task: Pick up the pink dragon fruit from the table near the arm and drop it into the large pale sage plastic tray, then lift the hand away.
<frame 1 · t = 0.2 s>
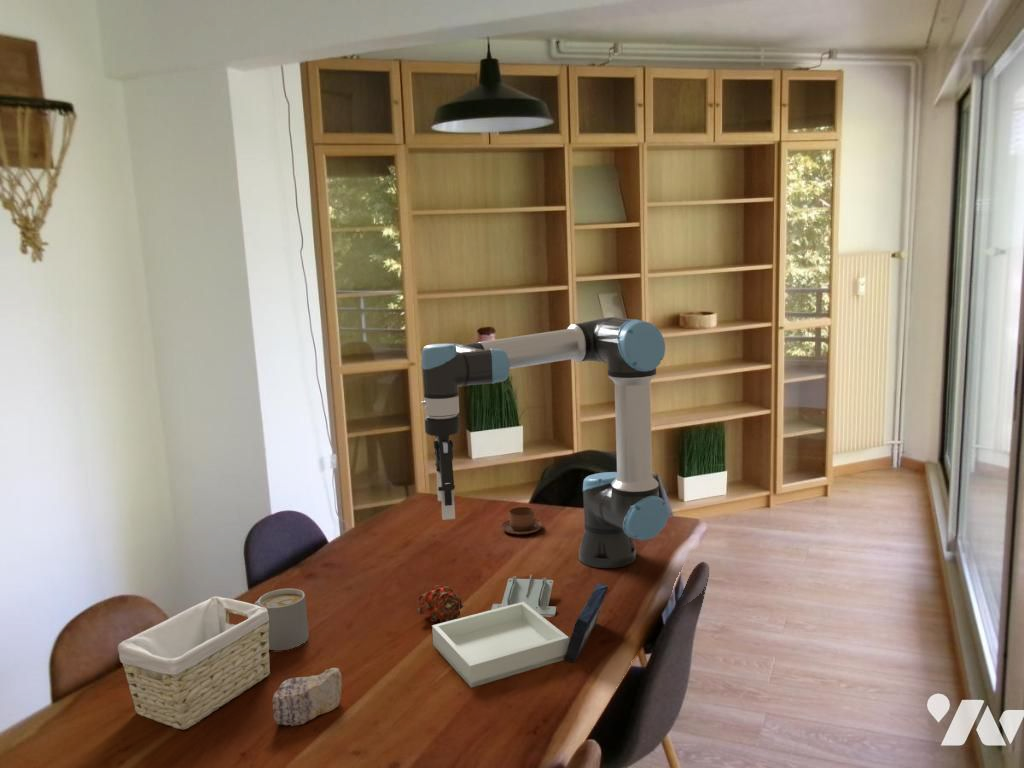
hand: (446, 509, 182), 27 cm above the table, tool pointing down, fingers open, 13 cm apart
dragon fruit: (440, 619, 189), on the table
storage basket: (203, 696, 161), on the table
cup and saucer: (522, 531, 244), on the table
tray: (499, 651, 172), on the table
metal bracket: (527, 605, 195), on the table
coffee mug: (280, 639, 183), on the table
mineral specimen: (305, 714, 152), on the table
vhs cassette tape: (580, 642, 175), on the table, touching tray
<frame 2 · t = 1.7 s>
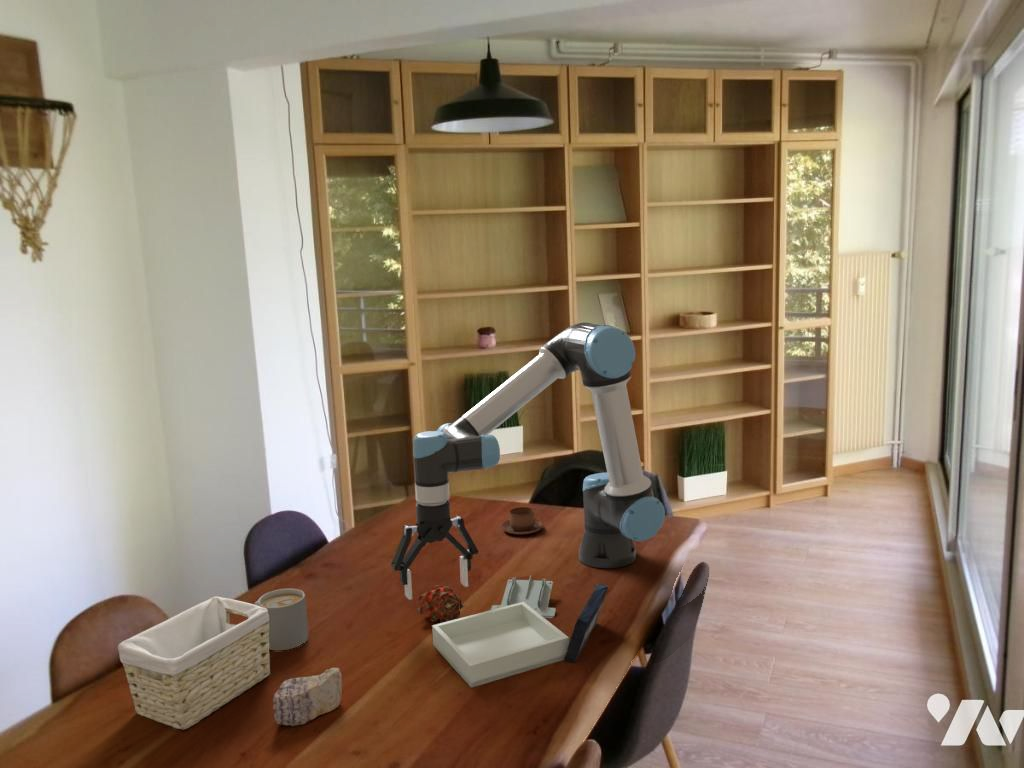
hand: (436, 591, 187), 7 cm above the table, tool pointing down, fingers open, 13 cm apart
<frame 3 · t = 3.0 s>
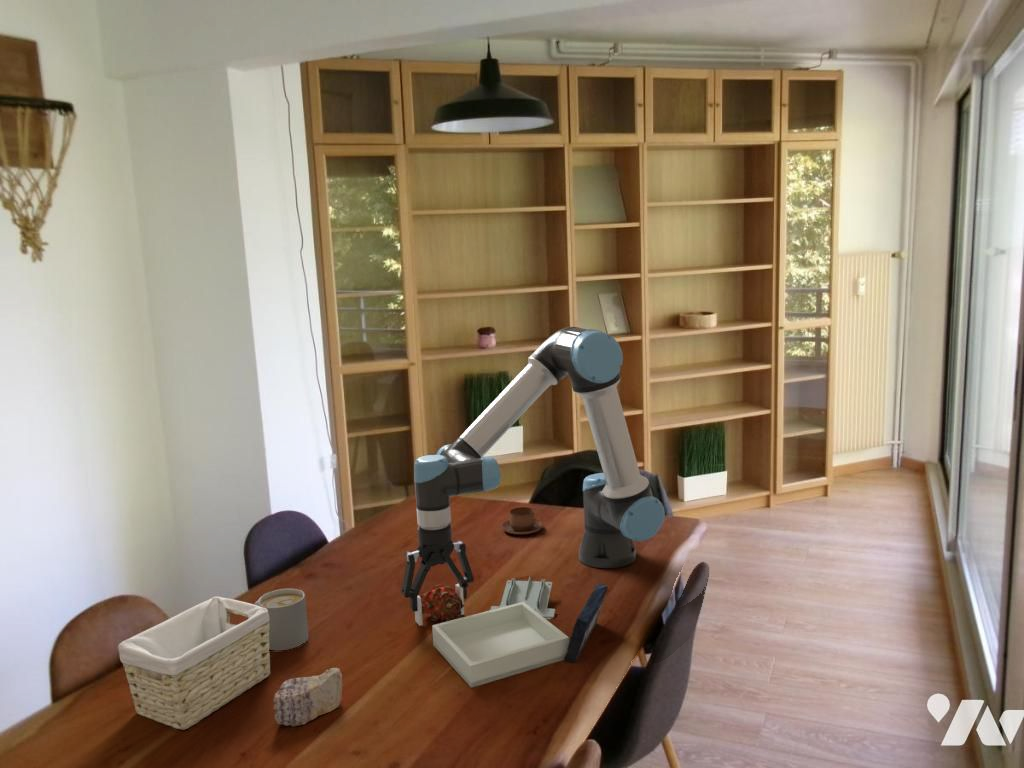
hand: (440, 617, 188), 0 cm above the table, tool pointing down, fingers closed on dragon fruit, 9 cm apart
dragon fruit: (441, 619, 189), on the table, touching gripper
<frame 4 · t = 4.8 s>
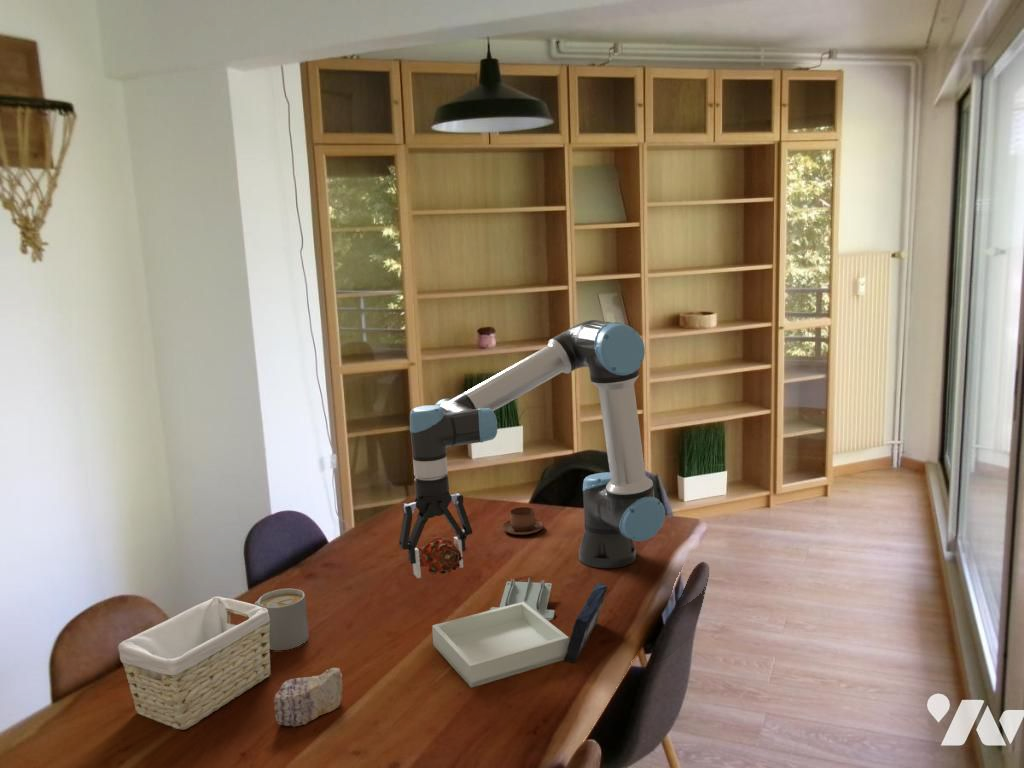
hand: (438, 570, 187), 12 cm above the table, tool pointing down, fingers closed on dragon fruit, 9 cm apart
dragon fruit: (439, 572, 187), point 11 cm above the table, touching gripper
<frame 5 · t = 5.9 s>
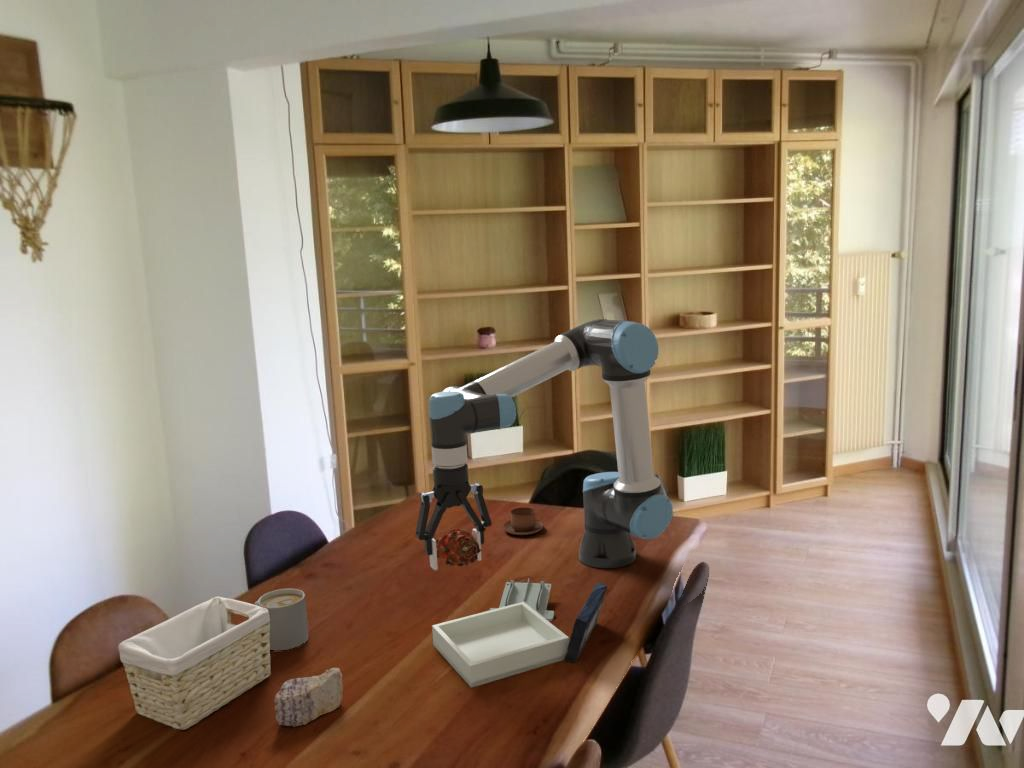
hand: (456, 563, 180), 16 cm above the table, tool pointing down, fingers closed on dragon fruit, 9 cm apart
dragon fruit: (457, 564, 180), point 15 cm above the table, touching gripper
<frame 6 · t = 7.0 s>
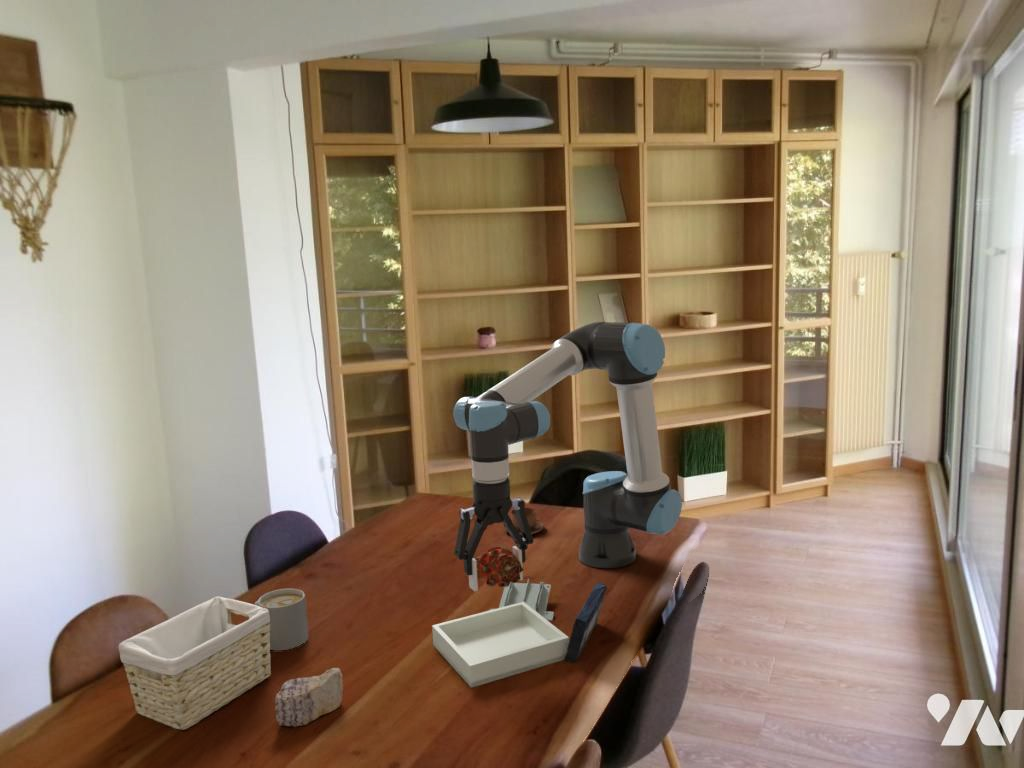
hand: (496, 583, 170), 15 cm above the table, tool pointing down, fingers closed on dragon fruit, 9 cm apart
dragon fruit: (497, 584, 170), point 15 cm above the table, touching gripper
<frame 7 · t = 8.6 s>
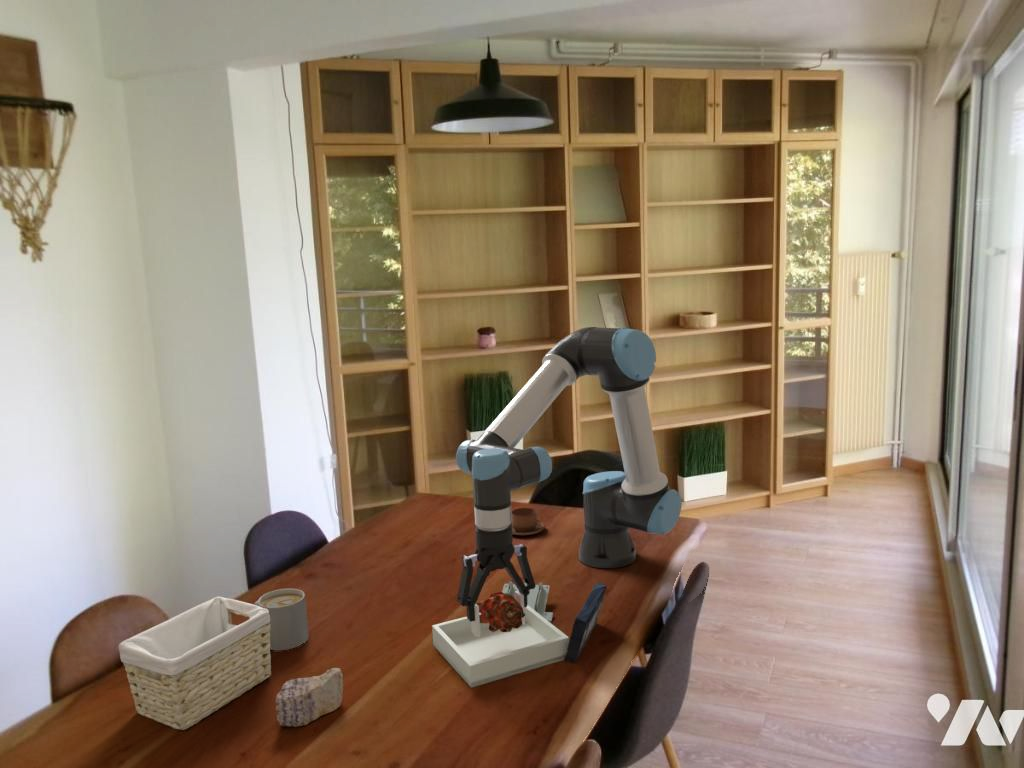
hand: (498, 628, 171), 5 cm above the table, tool pointing down, fingers closed on dragon fruit, 9 cm apart
dragon fruit: (499, 629, 171), point 5 cm above the table, touching gripper
when the fingers open (4 cm above the table, at t = 9.8 s): dragon fruit drops 3 cm, resting on tray.
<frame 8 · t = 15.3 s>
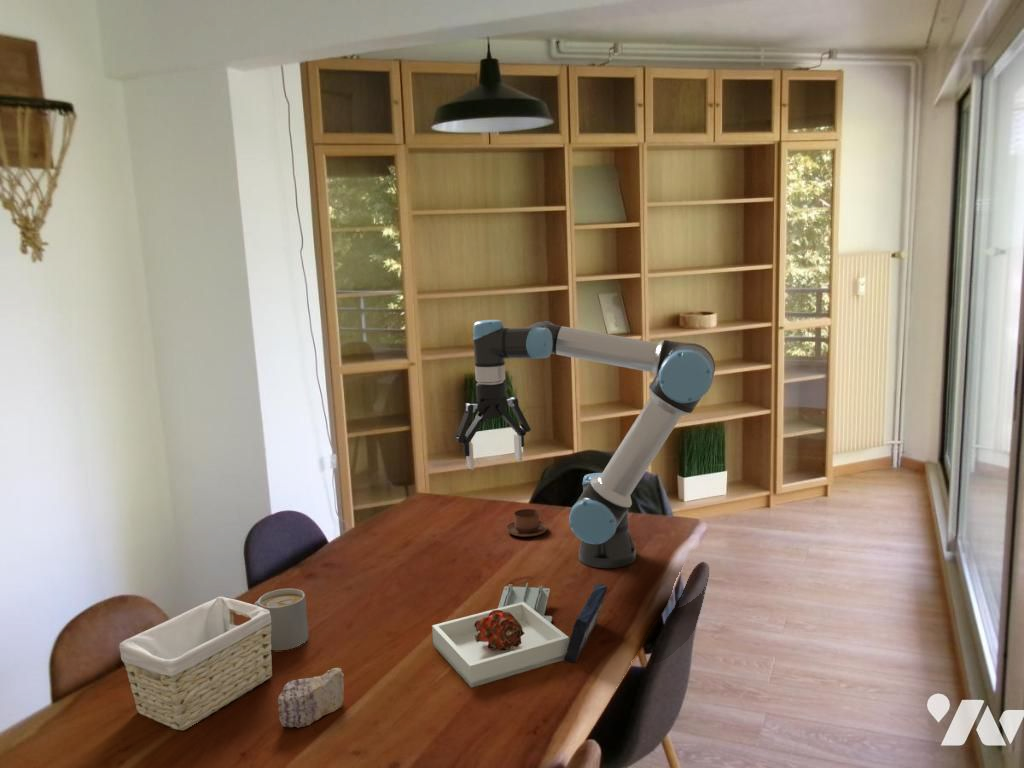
hand: (494, 464, 210), 29 cm above the table, tool pointing down, fingers open, 13 cm apart
dragon fruit: (498, 647, 172), point 1 cm above the table, touching tray
cup and saucer: (527, 533, 242), on the table
metal bracket: (523, 614, 190), on the table
everything else where it was.
at the end: dragon fruit inside the target area on the tray (0.2 cm from its centre), point 0.8 cm above the tray's base; the gripper is holding nothing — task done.
